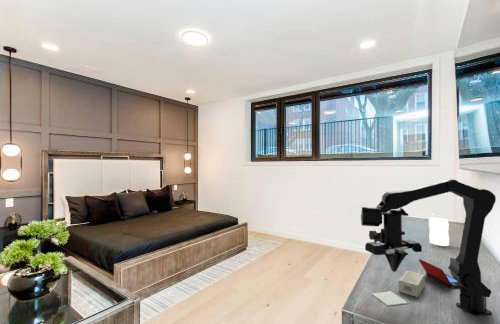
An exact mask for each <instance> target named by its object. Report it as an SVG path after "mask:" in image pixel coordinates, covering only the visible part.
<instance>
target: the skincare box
mask: <svg viewBox="0 0 500 324" xmlns="http://www.w3.org/2000/svg"><path fill="white" fill-rule="evenodd" d="M425 277H426V276H425V274H422V273H419V272H415V271H411V270H406V271H405V272H404V274H403V275H402V277H401V278H399V280H398V290H399V291H398V292H400V293H403V294H407V295H410V296H413V297H417V298H418V297H419V296H420V295H421V293H422V292H423V289H424V287H425V285H426V284H425V281H426V280H425V279H426V278H425Z"/></svg>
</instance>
